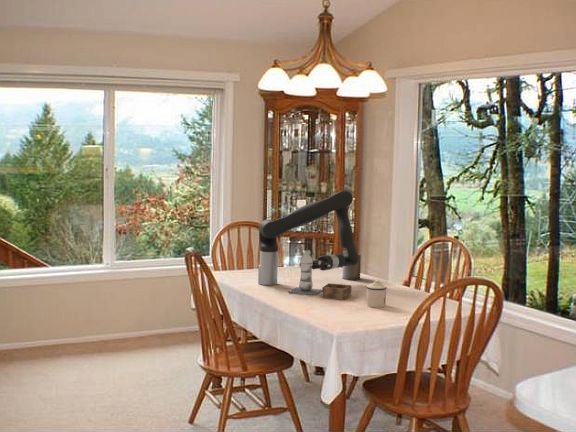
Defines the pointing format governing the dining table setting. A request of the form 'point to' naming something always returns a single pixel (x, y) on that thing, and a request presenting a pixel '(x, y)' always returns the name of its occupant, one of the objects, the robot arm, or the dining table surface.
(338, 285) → the walnut sleeve
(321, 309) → the dining table surface
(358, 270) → the pillar candle
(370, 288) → the teacup with lid
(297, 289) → the rubber mat
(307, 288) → the silver aluminum bottle
